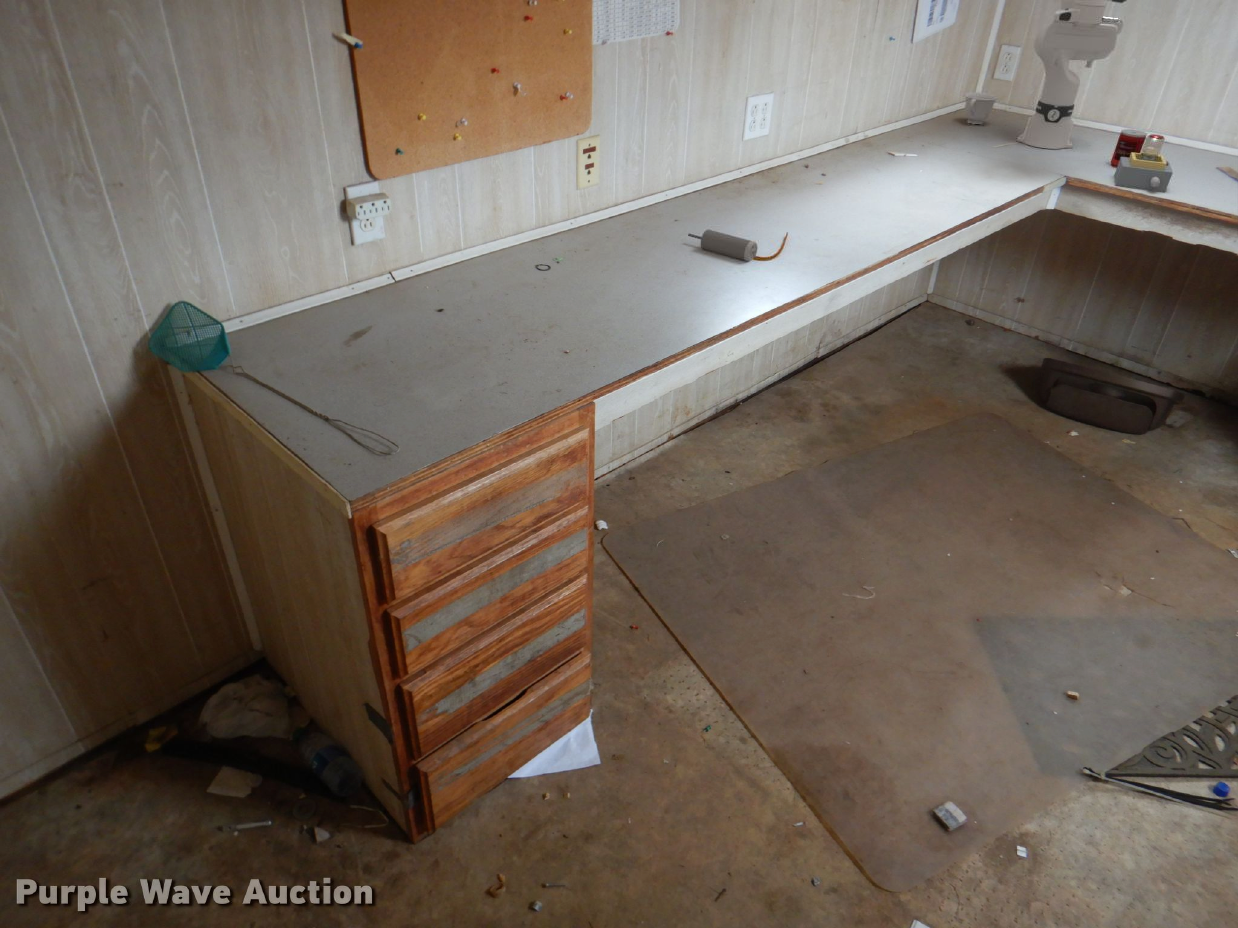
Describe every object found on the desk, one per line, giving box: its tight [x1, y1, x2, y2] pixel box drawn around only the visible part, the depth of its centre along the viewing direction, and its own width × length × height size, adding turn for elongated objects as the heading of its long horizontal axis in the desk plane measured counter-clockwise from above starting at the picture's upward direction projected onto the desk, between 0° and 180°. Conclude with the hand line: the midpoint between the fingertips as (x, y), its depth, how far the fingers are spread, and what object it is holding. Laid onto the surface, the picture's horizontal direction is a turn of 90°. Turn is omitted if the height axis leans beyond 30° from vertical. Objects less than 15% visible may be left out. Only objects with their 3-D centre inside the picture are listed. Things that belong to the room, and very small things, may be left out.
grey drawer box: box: [1113, 152, 1174, 193], centre depth 269 cm, size 15×14×8 cm
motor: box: [687, 228, 789, 262], centre depth 219 cm, size 23×22×5 cm
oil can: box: [1139, 133, 1166, 162], centre depth 266 cm, size 5×5×8 cm
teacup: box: [964, 92, 999, 125], centre depth 329 cm, size 12×15×10 cm
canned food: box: [1110, 128, 1148, 169], centre depth 286 cm, size 8×8×11 cm
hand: (1071, 66), depth 263 cm, fingers open, 8 cm apart
